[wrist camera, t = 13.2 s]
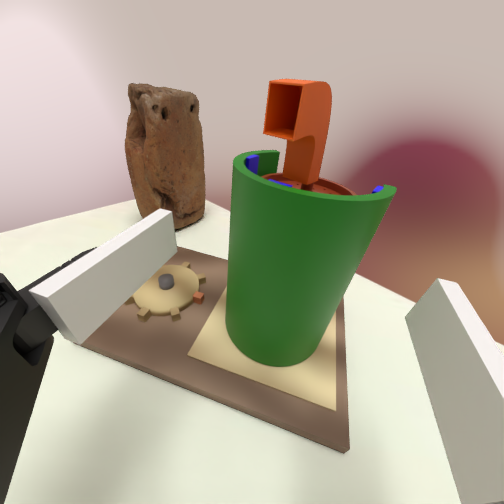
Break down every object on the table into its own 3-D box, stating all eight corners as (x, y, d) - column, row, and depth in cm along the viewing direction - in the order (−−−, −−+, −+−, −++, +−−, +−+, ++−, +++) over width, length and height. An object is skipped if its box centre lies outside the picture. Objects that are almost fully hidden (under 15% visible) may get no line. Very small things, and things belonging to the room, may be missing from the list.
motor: (329, 317, 24) (437, 98, 12) (299, 392, 18) (462, 89, 6) (251, 278, 28) (277, 82, 16) (204, 328, 22) (188, 66, 10)
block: (182, 205, 46) (170, 85, 34) (210, 217, 43) (207, 90, 31) (135, 225, 38) (98, 79, 26) (166, 241, 35) (139, 85, 23)
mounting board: (343, 453, 16) (360, 441, 14) (73, 342, 21) (58, 322, 19) (340, 298, 29) (348, 280, 27) (171, 250, 33) (168, 233, 31)
